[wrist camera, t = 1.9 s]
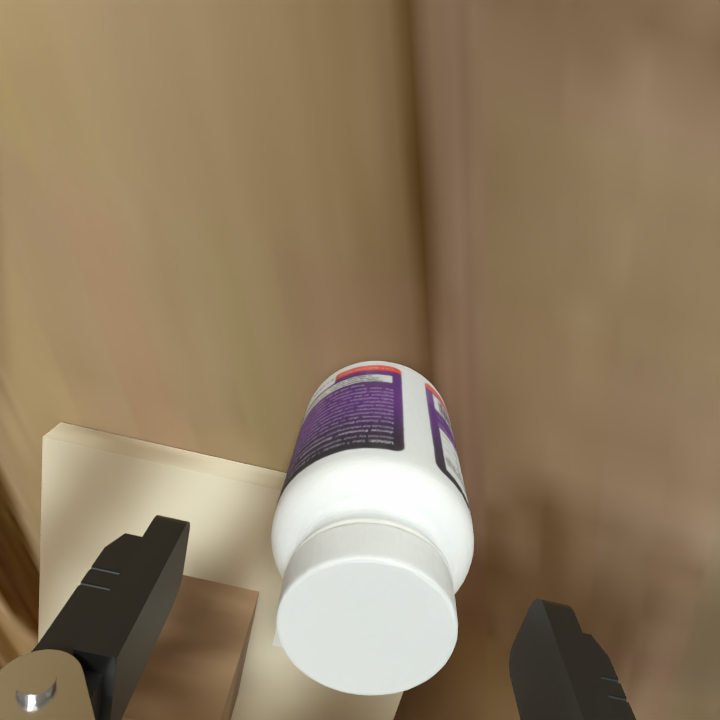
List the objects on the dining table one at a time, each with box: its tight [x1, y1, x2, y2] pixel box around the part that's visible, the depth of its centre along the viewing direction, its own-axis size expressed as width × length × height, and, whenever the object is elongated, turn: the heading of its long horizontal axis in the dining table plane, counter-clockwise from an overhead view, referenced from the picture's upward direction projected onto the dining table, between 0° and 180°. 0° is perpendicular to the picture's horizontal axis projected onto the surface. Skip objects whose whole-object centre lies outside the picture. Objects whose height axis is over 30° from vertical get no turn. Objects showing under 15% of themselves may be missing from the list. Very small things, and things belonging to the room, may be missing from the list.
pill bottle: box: [271, 361, 474, 695], centre depth 17 cm, size 5×5×10 cm
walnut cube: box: [121, 575, 259, 720], centre depth 21 cm, size 6×6×6 cm
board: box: [38, 422, 403, 720], centre depth 24 cm, size 16×14×1 cm
